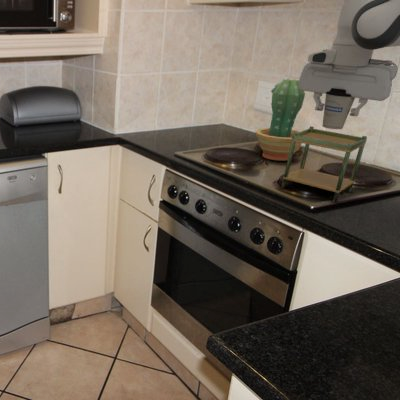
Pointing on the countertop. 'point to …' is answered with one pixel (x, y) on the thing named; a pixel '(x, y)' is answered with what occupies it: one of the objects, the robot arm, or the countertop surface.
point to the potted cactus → (281, 121)
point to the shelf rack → (331, 142)
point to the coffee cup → (336, 108)
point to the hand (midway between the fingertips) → (335, 113)
